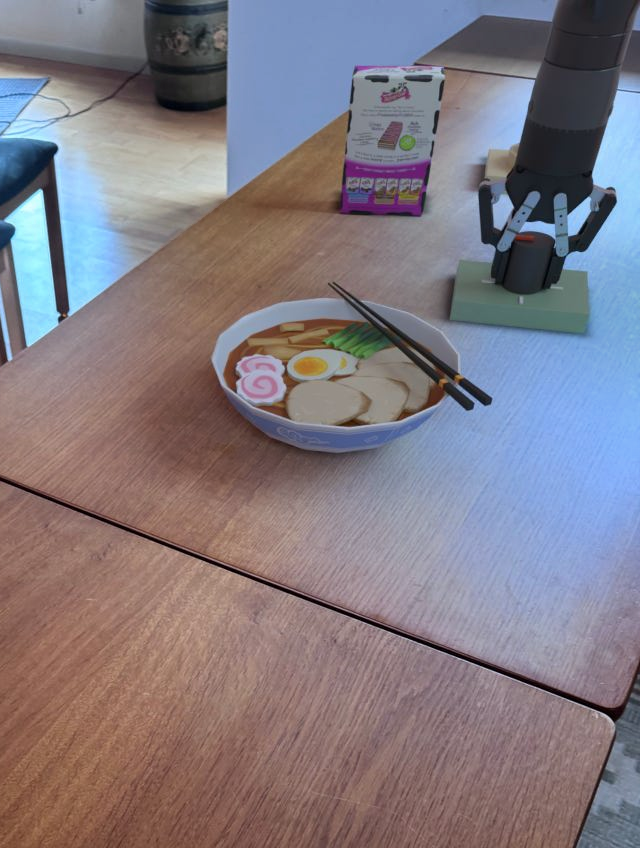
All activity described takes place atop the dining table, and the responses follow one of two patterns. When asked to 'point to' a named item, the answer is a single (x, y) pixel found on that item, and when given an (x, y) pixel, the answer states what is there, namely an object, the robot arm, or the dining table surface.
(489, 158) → the housing
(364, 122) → the candy bar box
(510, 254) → the knob
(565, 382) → the dining table surface
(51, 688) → the dining table surface
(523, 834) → the dining table surface
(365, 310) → the ramen bowl
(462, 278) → the panel
